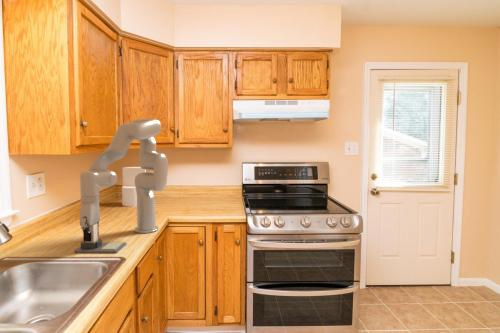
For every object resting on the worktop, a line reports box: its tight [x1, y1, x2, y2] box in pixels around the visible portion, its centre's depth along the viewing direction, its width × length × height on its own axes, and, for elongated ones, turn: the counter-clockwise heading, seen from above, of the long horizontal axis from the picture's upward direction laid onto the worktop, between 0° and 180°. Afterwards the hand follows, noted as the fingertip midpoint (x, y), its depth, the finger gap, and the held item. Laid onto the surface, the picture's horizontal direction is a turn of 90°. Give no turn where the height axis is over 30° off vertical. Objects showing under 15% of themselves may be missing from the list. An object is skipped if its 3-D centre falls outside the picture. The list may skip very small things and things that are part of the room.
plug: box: [85, 223, 99, 243], centre depth 148 cm, size 4×4×10 cm
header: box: [74, 238, 127, 254], centre depth 149 cm, size 12×18×4 cm, turn 91°
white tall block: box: [121, 166, 147, 207], centre depth 252 cm, size 17×17×28 cm
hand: (91, 238), depth 148 cm, fingers open, 6 cm apart
